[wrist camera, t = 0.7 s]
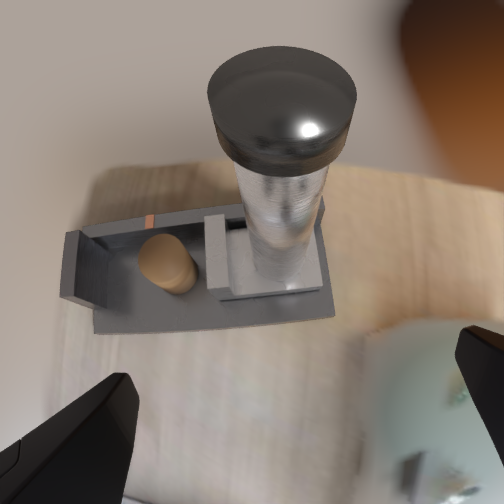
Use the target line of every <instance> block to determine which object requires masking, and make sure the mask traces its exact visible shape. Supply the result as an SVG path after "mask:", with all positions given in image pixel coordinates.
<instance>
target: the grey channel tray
mask: <svg viewBox="0 0 504 504" xmlns="http://www.w3.org/2000/svg"><path fill="white" fill-rule="evenodd" d="M324 211H325V206H324V201H323V197H321V200H320V204H319V208H318V212H317V216H316V219H315V223H314V227H313V228H314V234H315V240H316V245H317V251H318V257H319V263H320V270H321V276H322V283H323V286H322V288H321V289H319V290H311V291H303V292H294V293H286V294H277V295H268V296H258V297H248V298H238V299H228V300H217V299H216V298H215V297H214V295H213V294H212V293H211V292H210V291H209V290H208V289H207V273H206V250H205V222H204V216H212V215H220V214H224V215H225V218H226V221H227V224H228V227H229V230H235V229H244V228H247V225H246V220H245V215H244V210H243V205H242V203H239V204H231V205H223V206H215V207H207V208H199V209H192V210H185V211H177V212H170V213H164V214H157V215H154V214H152V215H146V216H144V217H137V218H131V219H125V220H119V221H113V222H107V223H101V224H95V225H90V226H84V227H83V230H82V231H80V230H77V231H71V232H66V236H65V243H64V251H63V260H62V270H61V282H60V297H61V298H64V299H66V300H69V301H71V302H74V303H77V304H80V305H82V306H85V307H88V308H91V309H94V334H99V335H113V334H152V333H174V332H192V331H207V330H221V329H233V328H244V327H255V326H265V325H274V324H283V323H292V322H300V321H308V320H316V319H323V318H330V317H334V316H335V309H334V302H333V296H332V289H331V283H330V276H329V270H328V264H327V258H326V253H325V247H324V241H323V236H322V230H321V225H320V224H321V220H322V217H323V214H324ZM158 234H170V235H173V236H175V237H176V238H178V239H179V240H180V242H181V243H182V244H183V246H184V247H185V248H186V250H187V251H188V253H189V254H190V255H191V257H192V258H193V259H194V261H195V262H196V264H197V267H198V278H197V281H196V283H195V284H194V286H193V287H192V288H191V289H190V290H189V291H187V292H185V293H183V294H178V295H175V294H170V293H168V292H166V291H164V290H163V289H162V288H160V287H159V286H157V285H156V284H154V283H153V282H152V281H150V280H149V279H147V278H146V277H145V276H144V275H143V274H142V273H141V271H140V269H139V265H138V255H139V252H140V249H141V247H142V246H143V244H144V243H145V242H146V241H147V240H148V239H150V238H151V237H153V236H155V235H158Z"/></svg>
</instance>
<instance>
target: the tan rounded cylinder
mask: <svg viewBox="0 0 504 504" xmlns="http://www.w3.org/2000/svg"><path fill="white" fill-rule="evenodd" d="M138 265H139V269H140V271H141V273H142V274H143V275H144V276H145V277H146V278H147V279H149V280H150V281H152V282H153V283H154V284H156V285H157V286H159V287H160V288H162V289H163V290H164V291H166V292H168V293H170V294H175V295H178V294H183V293H185V292H187V291H189V290H190V289H191V288H192V287H193V286H194V284H195V283H196V281H197V278H198V267H197V264H196V262H195V261H194V259H193V258H192V257H191V255H190V254H189V253H188V251H187V250H186V248H185V247H184V246H183V244H182V243H181V242H180V240H179V239H178V238H176V237H175V236H173V235H170V234H158V235H155V236H153V237H151V238H150V239H148V240H147V241H146V242H145V243H144V244H143V246H142V247H141V249H140V252H139V255H138Z"/></svg>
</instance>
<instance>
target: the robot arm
mask: <svg viewBox="0 0 504 504" xmlns="http://www.w3.org/2000/svg"><path fill="white" fill-rule="evenodd" d="M455 359H456V362H457V364H458V366H459V369H460V371H461V373H462V376H463V378H464V380H465V383H466V385H467V388H468V390H469V393H470V395H471V397H472V400H473V402H474V404H475V406H476V408H477V410H478V412H479V414H480V416H481V418H482V420H483V422H484V424H485V426H486V428H487V430H488V432H489V435H490V437H491V439H492V441H493V443H494V445H495V448H496V450H497V452H498V454H499V457H500V459H501V461H502V464H503V466H504V335H501V334H498V333H495V332H492V331H490V330H487V329H484V328H481V327H478V326H475V325H471V326H468V327H465V328H463V329H462V330H461V332H460V334H459V338H458V343H457V347H456V350H455ZM139 403H140V400H139V395H138V393H137V390H136V388H135V386H134V384H133V381H132V379H131V377H130V375H129V374H127V373H113V374H111V375H110V376H108V377H107V378H106V379H104V380H103V381H101V382H100V383H99V384H97V385H96V386H94V387H93V388H92V389H90V390H89V391H87V392H86V393H85V394H83V395H82V396H80V397H79V398H78V399H76V400H75V401H73V402H72V403H71V404H69V405H68V406H66V407H65V408H64V409H62V410H61V411H59V412H58V413H56V414H55V415H54V416H52V417H51V418H49V419H48V420H47V421H45V422H44V423H42V424H41V425H39V426H38V427H37V428H35V429H34V430H32V431H31V432H29V433H28V434H26V435H25V436H24V437H22V439H21V440H20V439H19V440H18V441H16V442H15V443H13V444H12V445H11V446H9V447H8V448H6V449H5V450H3V451H1V452H0V504H121V502H122V497H123V493H124V488H125V483H126V479H127V475H128V470H129V466H130V462H131V458H132V453H133V448H134V441H135V433H136V425H137V418H138V411H139Z"/></svg>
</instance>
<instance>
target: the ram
mask: <svg viewBox="0 0 504 504" xmlns="http://www.w3.org/2000/svg"><path fill="white" fill-rule="evenodd" d="M207 94H208V100H209V104H210V108H211V112H212V116H213V120H214V124H215V128H216V132H217V136H218V140H219V143H220V145H221V147H222V149H223V150H224V152H225V153H226V154H227V155H228V156H229V157H230V158H231V159H232V160H233V162H234V166H235V171H236V176H237V181H238V186H239V191H240V196H241V200H242V205H243V210H244V215H245V220H246V225H247V228H244V229H235V230H229V227H228V224H227V221H226V218H225V215H224V214H220V215H212V216H204V222H205V250H206V273H207V289H208V290H209V291H210V292H211V293H212V294H213V295H214V297H215V298H216V299H217V300H228V299H238V298H248V297H258V296H268V295H277V294H286V293H294V292H303V291H311V290H319V289H321V288H322V286H323V283H322V276H321V270H320V263H319V257H318V251H317V245H316V240H315V234H314V228H313V227H314V223H315V219H316V216H317V212H318V208H319V204H320V200H321V197H322V193H323V189H324V185H325V181H326V177H327V173H328V169H329V165H330V163H331V162H333V161H334V160H335V159H336V158H337V157H338V155H339V154H340V153H341V151H342V149H343V147H344V145H345V141H346V138H347V134H348V131H349V127H350V123H351V119H352V115H353V111H354V108H355V103H356V100H357V92H356V87H355V84H354V82H353V80H352V78H351V77H350V75H349V74H348V73H347V72H346V71H345V70H344V69H343V68H342V67H341V66H340V65H339V64H337V63H336V62H335V61H333V60H331V59H330V58H328V57H326V56H324V55H322V54H319V53H316V52H314V51H310V50H307V49H302V48H296V47H287V46H271V47H263V48H257V49H253V50H249V51H246V52H243V53H241V54H238V55H236V56H234V57H232V58H231V59H229V60H228V61H226V62H225V63H223V64H222V65H221V66H220V67H219V68H218V69H217V70H216V71H215V72H214V74H213V75H212V77H211V79H210V81H209V84H208V90H207Z"/></svg>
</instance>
